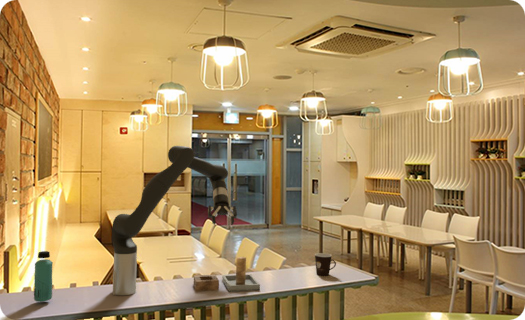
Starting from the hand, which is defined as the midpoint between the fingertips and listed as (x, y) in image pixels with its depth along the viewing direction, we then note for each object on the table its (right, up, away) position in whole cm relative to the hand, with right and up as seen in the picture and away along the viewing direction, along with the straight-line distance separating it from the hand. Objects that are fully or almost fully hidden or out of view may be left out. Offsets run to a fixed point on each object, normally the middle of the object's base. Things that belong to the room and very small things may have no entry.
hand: (223, 223), depth 208 cm
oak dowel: (+9, -26, -10) cm, 29 cm away
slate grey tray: (+9, -27, -10) cm, 30 cm away
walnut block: (-7, -26, -15) cm, 31 cm away
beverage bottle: (-67, -25, -41) cm, 82 cm away
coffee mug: (+51, -28, +11) cm, 59 cm away
